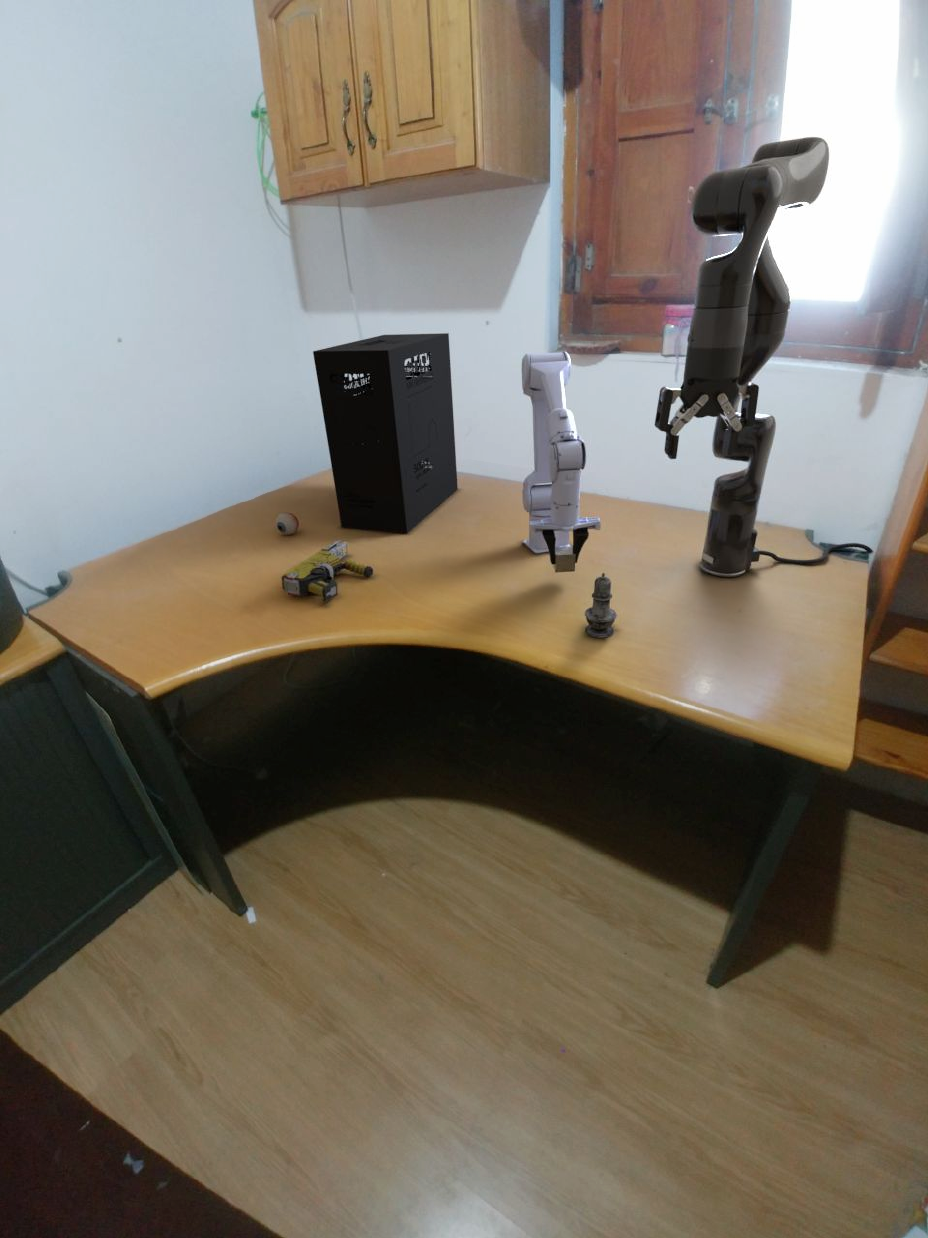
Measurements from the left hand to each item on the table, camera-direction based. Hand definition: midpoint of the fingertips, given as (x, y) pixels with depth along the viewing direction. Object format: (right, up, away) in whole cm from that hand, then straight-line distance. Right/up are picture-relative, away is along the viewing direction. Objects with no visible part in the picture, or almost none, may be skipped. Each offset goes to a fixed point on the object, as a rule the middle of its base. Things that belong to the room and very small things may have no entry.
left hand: (563, 561), depth 129 cm
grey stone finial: (+4, -15, -16) cm, 22 cm away
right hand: (+15, +13, -36) cm, 41 cm away
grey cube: (0, -1, +1) cm, 1 cm away
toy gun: (-50, -3, +10) cm, 51 cm away
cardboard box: (-39, +21, +50) cm, 67 cm away
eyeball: (-69, +11, +36) cm, 79 cm away
